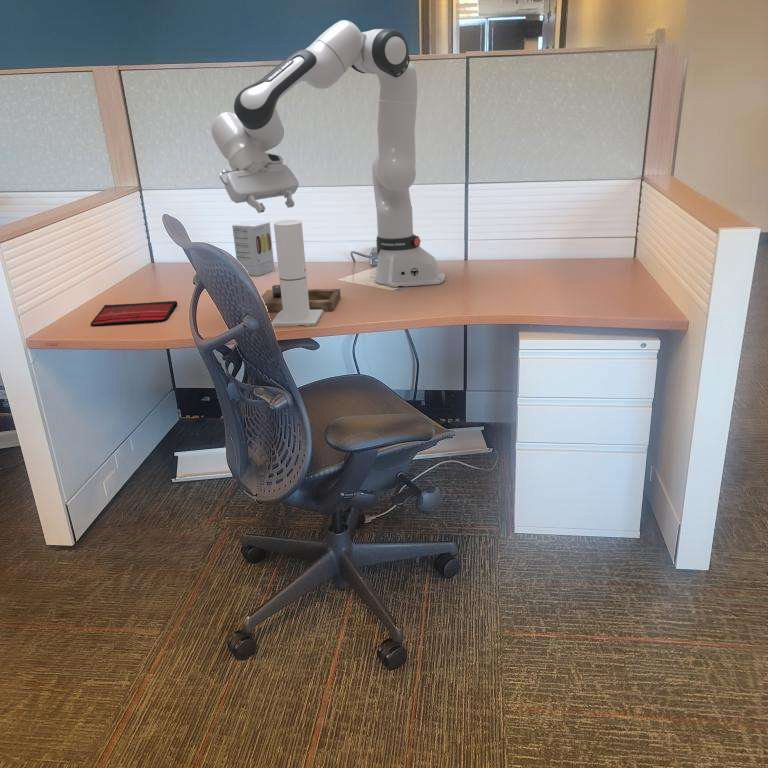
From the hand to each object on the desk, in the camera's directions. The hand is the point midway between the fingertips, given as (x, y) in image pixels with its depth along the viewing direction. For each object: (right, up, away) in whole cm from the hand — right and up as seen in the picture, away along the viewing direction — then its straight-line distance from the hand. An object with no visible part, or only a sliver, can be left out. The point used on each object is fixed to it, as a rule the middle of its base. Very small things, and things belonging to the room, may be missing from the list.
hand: (277, 208), depth 174 cm
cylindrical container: (+4, -27, +9) cm, 29 cm away
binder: (-43, -27, +18) cm, 54 cm away
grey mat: (+4, -28, +9) cm, 29 cm away
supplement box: (-17, -7, +61) cm, 63 cm away
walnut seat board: (+3, -22, +22) cm, 31 cm away
